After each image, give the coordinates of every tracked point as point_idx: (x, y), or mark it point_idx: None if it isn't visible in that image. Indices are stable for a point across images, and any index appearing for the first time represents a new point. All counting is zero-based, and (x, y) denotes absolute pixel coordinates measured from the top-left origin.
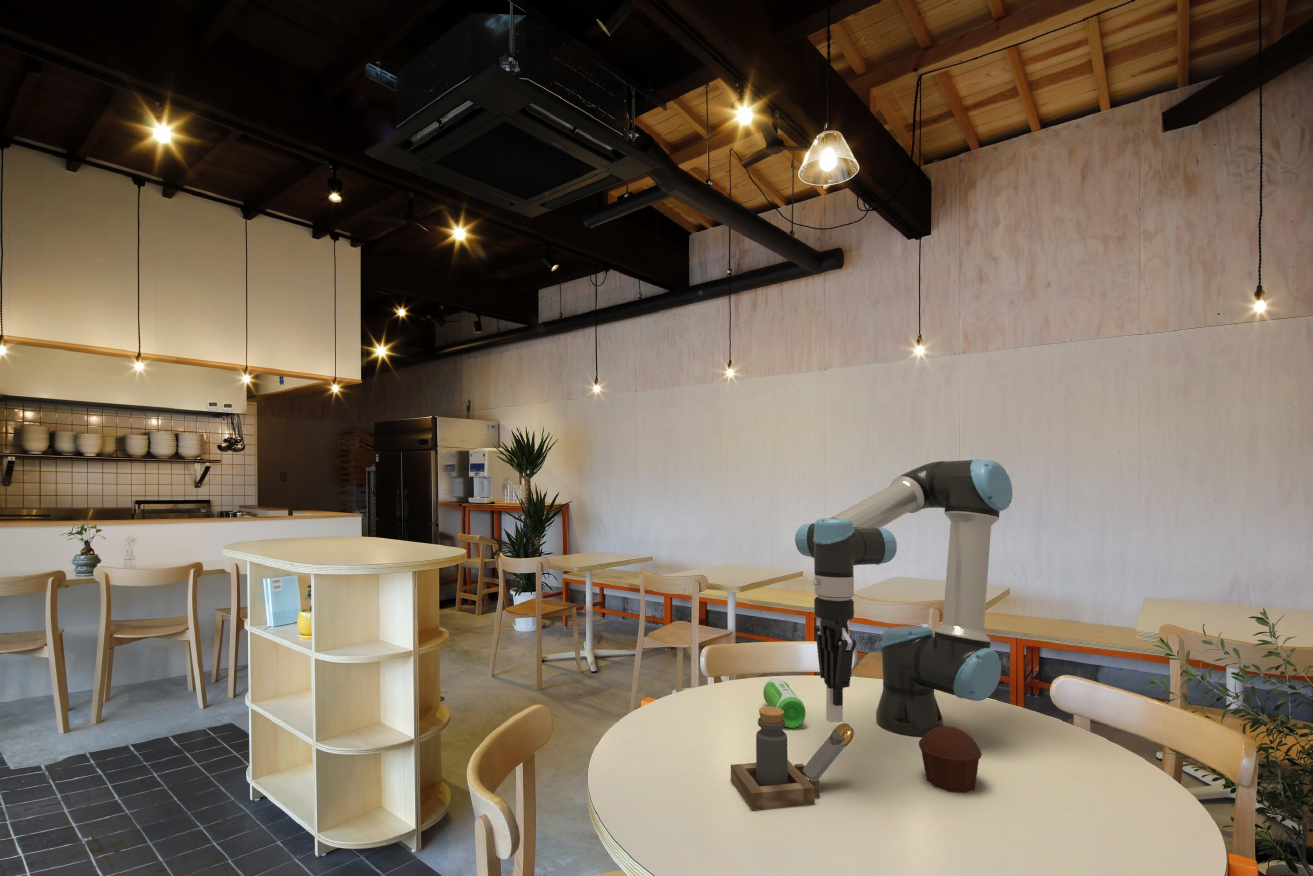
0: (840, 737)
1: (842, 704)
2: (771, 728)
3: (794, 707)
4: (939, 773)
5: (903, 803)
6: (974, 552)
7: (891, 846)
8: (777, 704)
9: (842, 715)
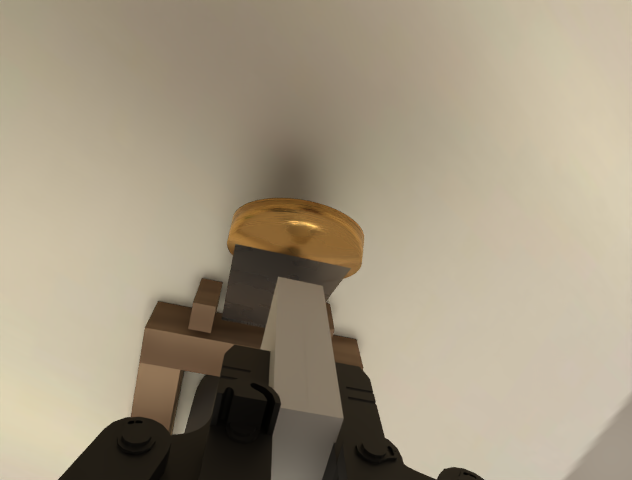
0: (312, 264)
1: (330, 340)
2: None
3: None
4: None
5: (490, 83)
6: None
7: (617, 300)
8: None
9: (325, 306)
